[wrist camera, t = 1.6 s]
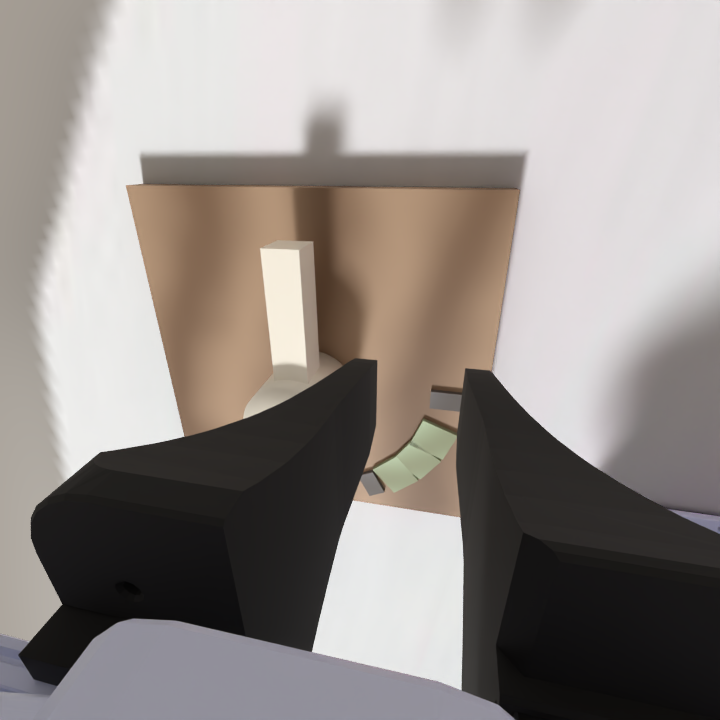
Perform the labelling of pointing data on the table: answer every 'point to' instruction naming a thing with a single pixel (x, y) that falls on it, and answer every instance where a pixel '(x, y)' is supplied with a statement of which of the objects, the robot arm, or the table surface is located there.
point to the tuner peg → (290, 324)
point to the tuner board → (336, 306)
